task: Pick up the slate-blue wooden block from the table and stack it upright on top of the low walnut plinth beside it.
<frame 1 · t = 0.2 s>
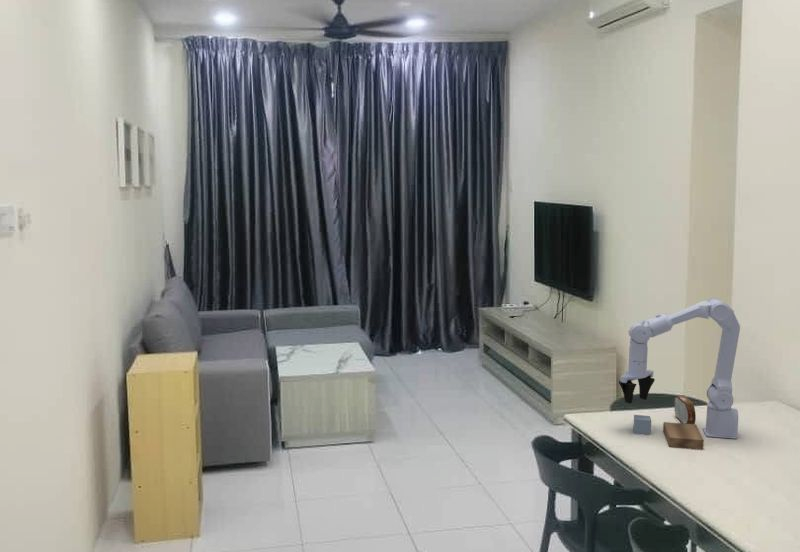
hand: (635, 400, 265), 10 cm above the table, tool pointing down, fingers open, 7 cm apart
plinth: (682, 439, 257), on the table
tin: (683, 422, 276), on the table
block: (641, 432, 264), on the table
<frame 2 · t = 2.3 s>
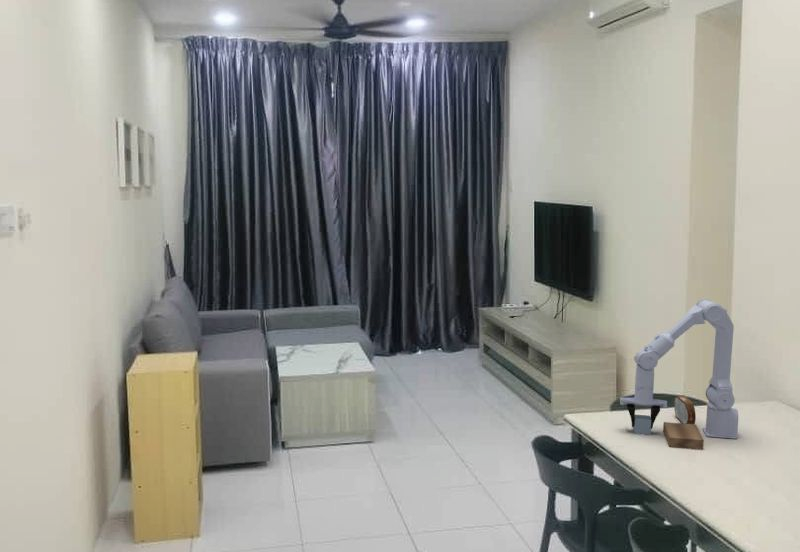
hand: (642, 427, 264), 2 cm above the table, tool pointing down, fingers closed on block, 5 cm apart
block: (641, 432, 264), on the table, touching gripper
everything else where it was.
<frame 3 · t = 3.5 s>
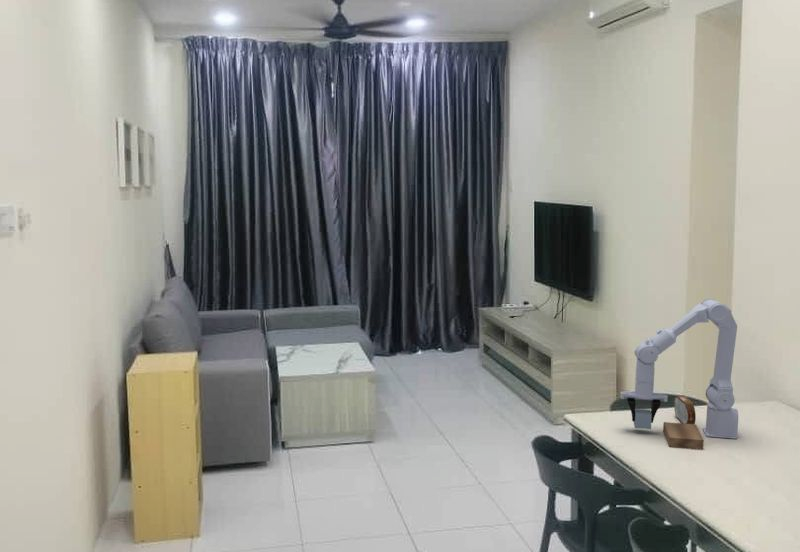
hand: (642, 421, 263), 4 cm above the table, tool pointing down, fingers closed on block, 5 cm apart
block: (642, 426, 264), point 2 cm above the table, touching gripper
everything else where it was.
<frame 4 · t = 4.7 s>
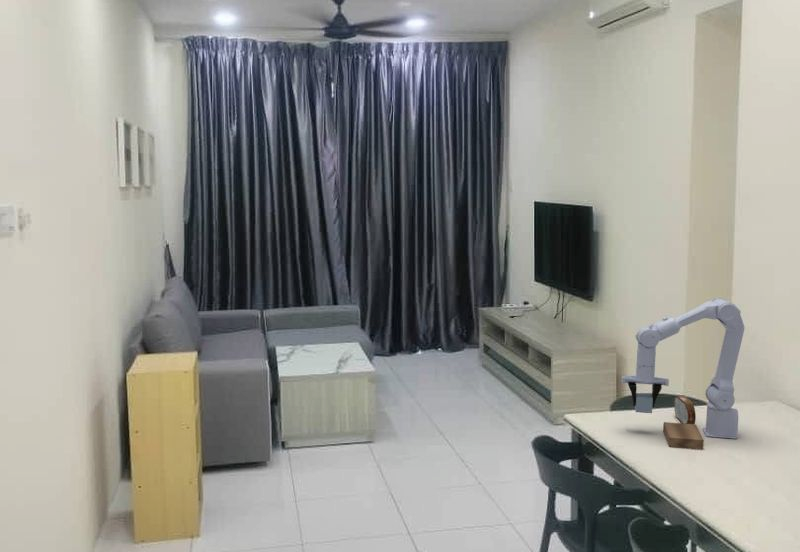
hand: (643, 405, 263), 9 cm above the table, tool pointing down, fingers closed on block, 5 cm apart
block: (643, 410, 263), point 7 cm above the table, touching gripper
everything else where it was.
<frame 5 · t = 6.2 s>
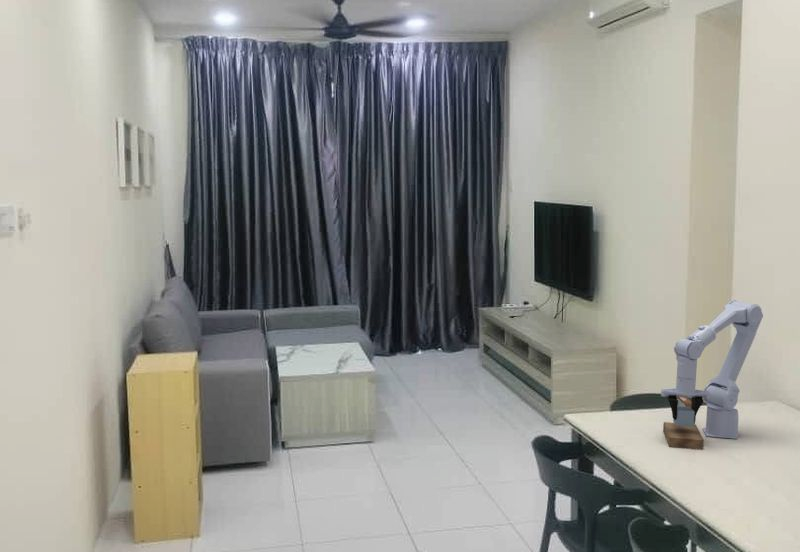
hand: (683, 419, 256), 7 cm above the table, tool pointing down, fingers closed on block, 5 cm apart
block: (683, 424, 256), point 5 cm above the table, touching gripper
everything else where it was.
when the fingers open (6 cm above the table, at t = 7.3 s): block drops 1 cm, resting on plinth.
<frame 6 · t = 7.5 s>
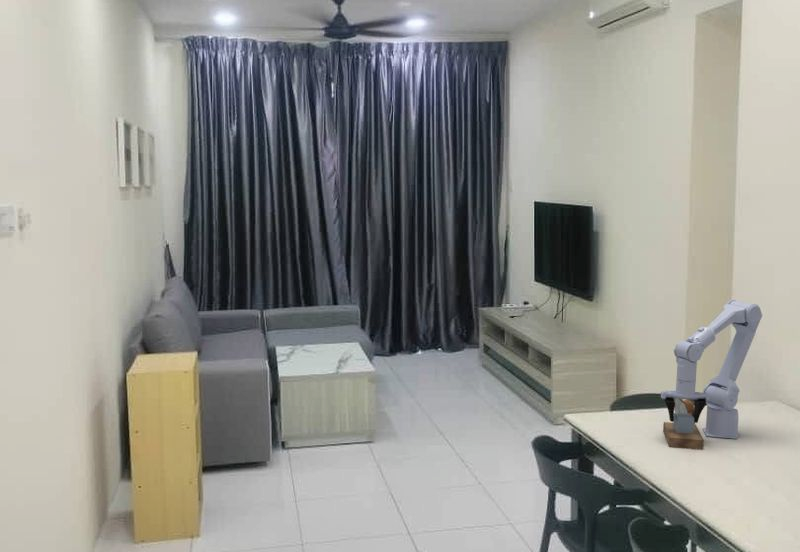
hand: (683, 421, 256), 6 cm above the table, tool pointing down, fingers open, 7 cm apart
block: (683, 430, 256), point 3 cm above the table, touching plinth
everything else where it was.
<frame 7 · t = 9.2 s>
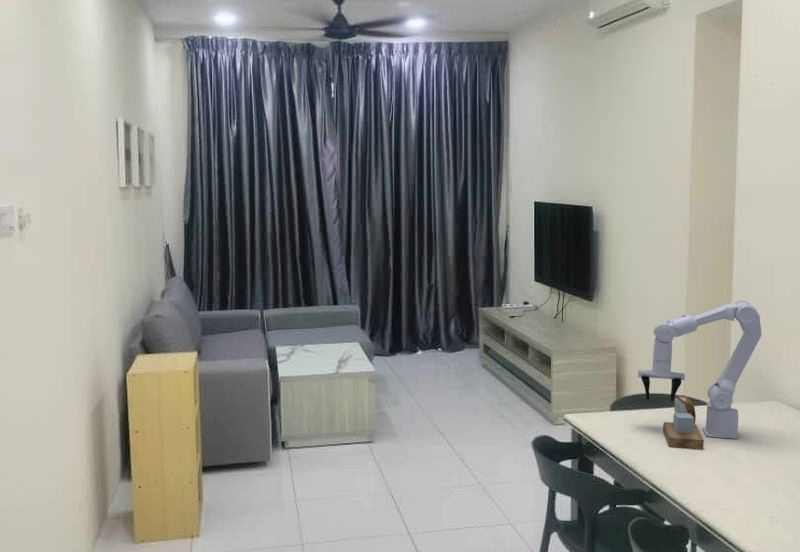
hand: (659, 399, 266), 10 cm above the table, tool pointing down, fingers open, 7 cm apart
nothing on the table moved.
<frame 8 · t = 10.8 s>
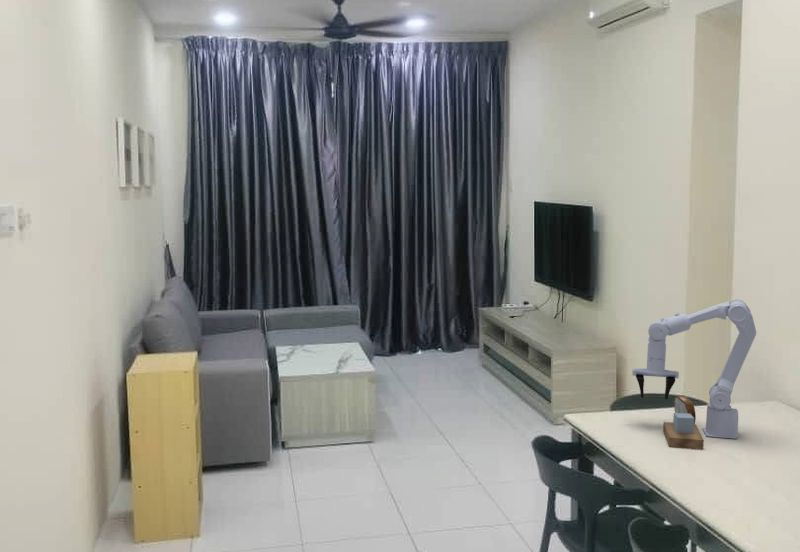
hand: (654, 397, 269), 10 cm above the table, tool pointing down, fingers open, 7 cm apart
nothing on the table moved.
at the end: block inside the target area on the plinth (0.0 cm from its centre), point 3.0 cm above the plinth's base; block tilted 0°; the gripper is holding nothing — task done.
